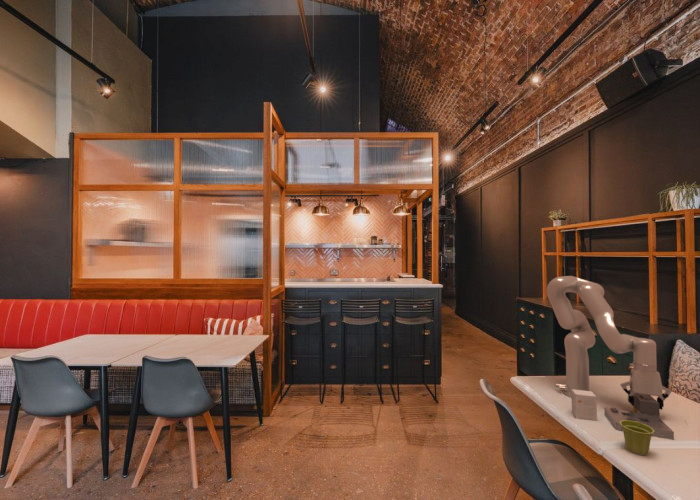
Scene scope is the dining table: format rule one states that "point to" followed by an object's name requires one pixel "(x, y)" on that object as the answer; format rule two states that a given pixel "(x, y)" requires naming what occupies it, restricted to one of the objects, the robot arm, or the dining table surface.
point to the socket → (647, 419)
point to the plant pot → (637, 436)
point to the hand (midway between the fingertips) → (645, 406)
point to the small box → (584, 404)
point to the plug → (646, 404)
